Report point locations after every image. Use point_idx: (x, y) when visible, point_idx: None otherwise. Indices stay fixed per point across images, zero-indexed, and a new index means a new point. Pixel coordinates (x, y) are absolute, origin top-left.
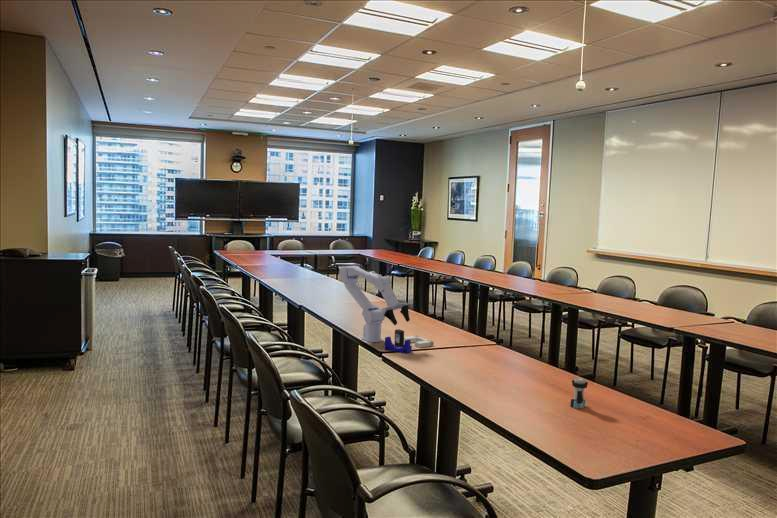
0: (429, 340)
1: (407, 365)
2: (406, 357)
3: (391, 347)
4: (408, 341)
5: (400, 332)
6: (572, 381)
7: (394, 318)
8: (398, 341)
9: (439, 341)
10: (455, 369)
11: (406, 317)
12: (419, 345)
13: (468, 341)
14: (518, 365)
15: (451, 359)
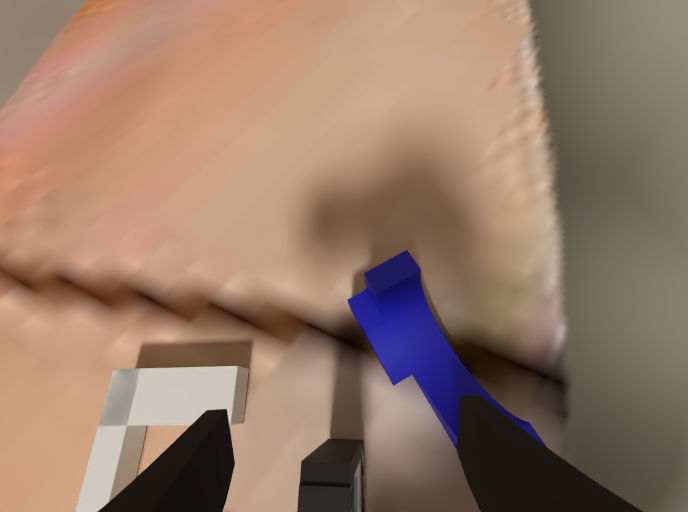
0: (106, 413)
1: (510, 119)
2: (448, 220)
3: (476, 384)
4: (395, 257)
5: (351, 462)
6: None
7: (533, 447)
8: (359, 476)
9: (5, 453)
10: (350, 42)
11: (203, 493)
12: (239, 367)
13: None
14: (136, 29)
15: (268, 130)
